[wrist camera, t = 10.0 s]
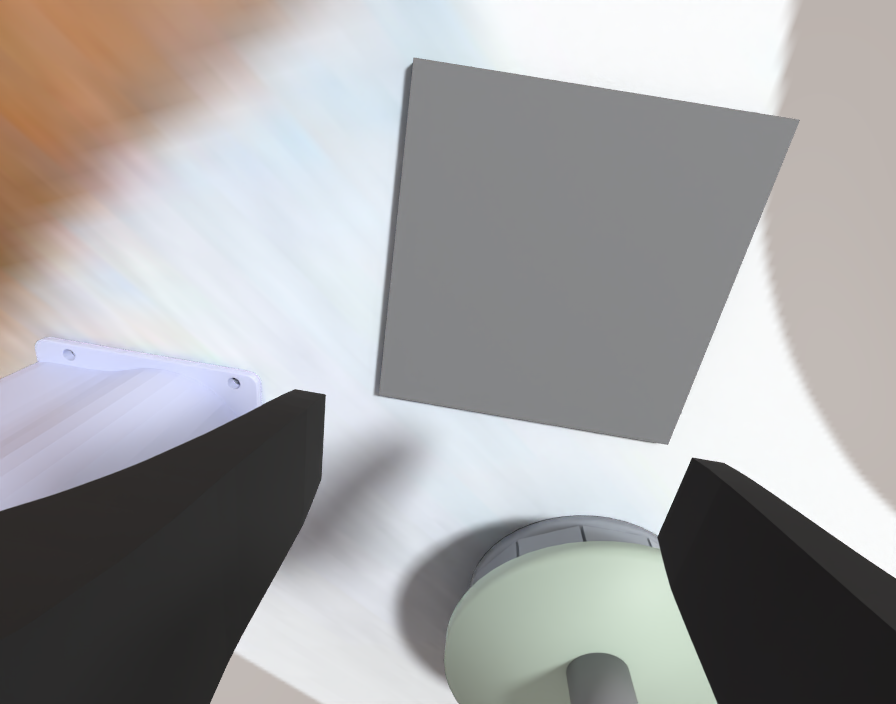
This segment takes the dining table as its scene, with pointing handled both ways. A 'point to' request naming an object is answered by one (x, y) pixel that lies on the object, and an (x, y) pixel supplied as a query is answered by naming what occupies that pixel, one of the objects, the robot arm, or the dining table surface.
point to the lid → (574, 632)
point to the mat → (567, 246)
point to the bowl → (561, 538)
